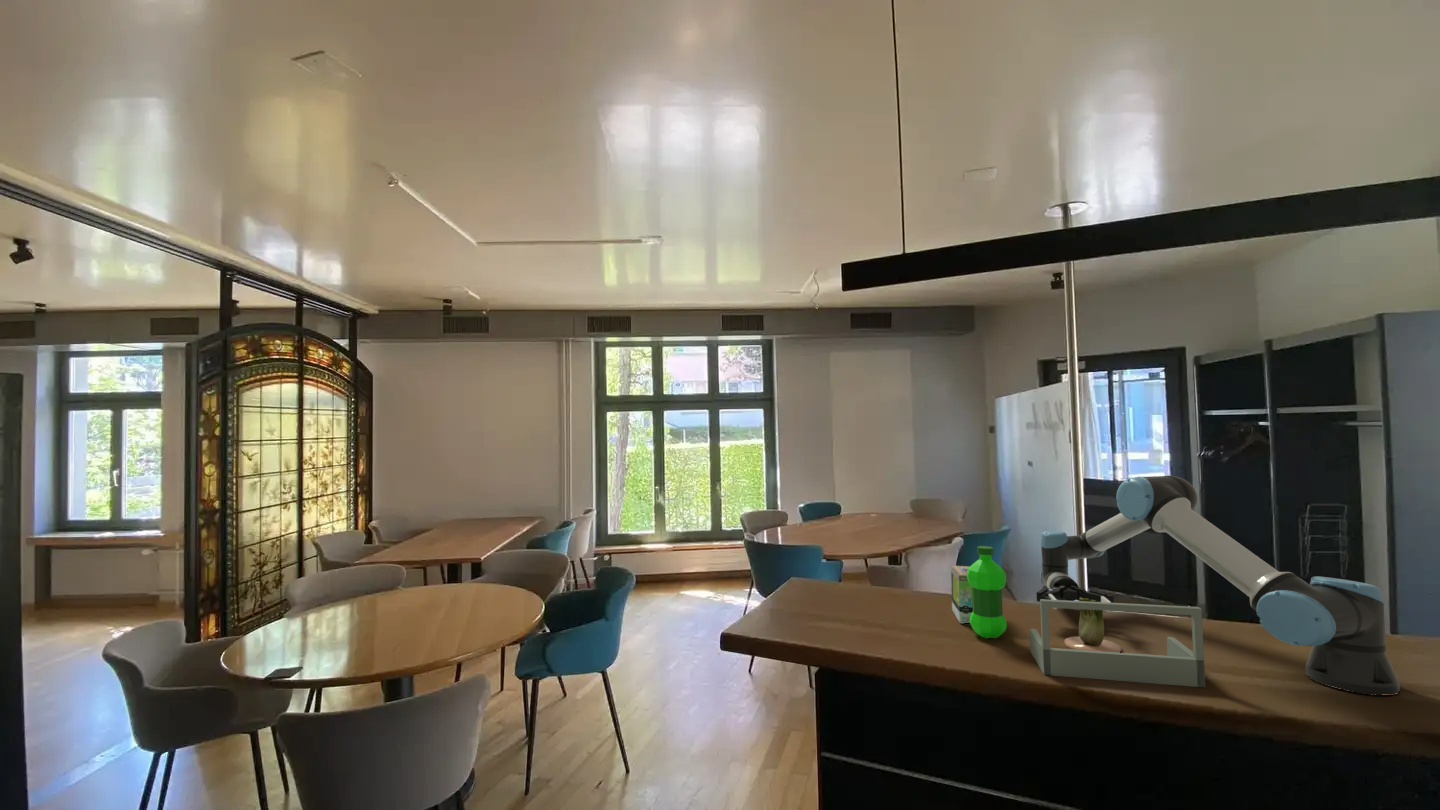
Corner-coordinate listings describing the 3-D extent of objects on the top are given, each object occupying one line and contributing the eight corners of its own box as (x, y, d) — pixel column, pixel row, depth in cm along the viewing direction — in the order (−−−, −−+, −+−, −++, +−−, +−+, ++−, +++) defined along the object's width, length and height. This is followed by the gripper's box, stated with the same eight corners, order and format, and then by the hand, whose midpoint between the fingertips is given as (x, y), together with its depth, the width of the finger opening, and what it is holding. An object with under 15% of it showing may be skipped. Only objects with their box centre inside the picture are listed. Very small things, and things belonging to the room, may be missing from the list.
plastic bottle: (972, 640, 177) (969, 550, 178) (967, 629, 187) (964, 543, 188) (1011, 643, 174) (1007, 551, 175) (1003, 631, 184) (1000, 544, 186)
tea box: (994, 625, 190) (992, 575, 190) (959, 624, 192) (957, 574, 192) (984, 611, 205) (982, 565, 205) (951, 610, 207) (949, 564, 207)
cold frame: (1030, 651, 168) (1027, 584, 168) (1174, 661, 159) (1171, 590, 159) (1044, 674, 152) (1041, 600, 152) (1205, 687, 143) (1201, 608, 143)
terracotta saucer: (1126, 646, 170) (1126, 643, 170) (1113, 659, 161) (1113, 656, 161) (1073, 636, 179) (1073, 633, 179) (1057, 647, 170) (1057, 644, 170)
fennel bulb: (1107, 647, 167) (1105, 601, 168) (1090, 648, 167) (1089, 602, 167) (1091, 640, 173) (1089, 595, 174) (1075, 641, 172) (1073, 596, 173)
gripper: (1108, 601, 194) (1133, 622, 173) (1019, 597, 200) (1034, 616, 180) (1107, 577, 194) (1132, 594, 174) (1018, 573, 201) (1033, 590, 180)
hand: (1082, 606), depth 177 cm, fingers open, 13 cm apart
